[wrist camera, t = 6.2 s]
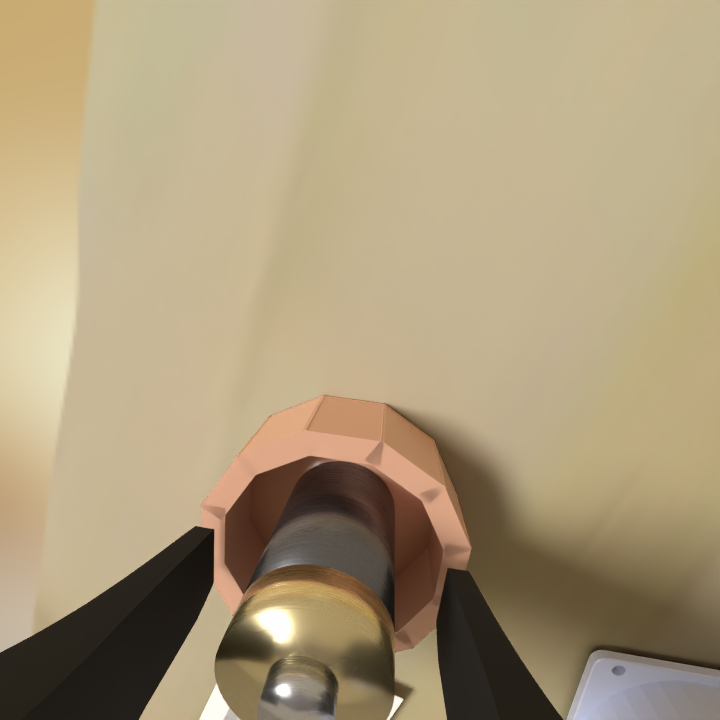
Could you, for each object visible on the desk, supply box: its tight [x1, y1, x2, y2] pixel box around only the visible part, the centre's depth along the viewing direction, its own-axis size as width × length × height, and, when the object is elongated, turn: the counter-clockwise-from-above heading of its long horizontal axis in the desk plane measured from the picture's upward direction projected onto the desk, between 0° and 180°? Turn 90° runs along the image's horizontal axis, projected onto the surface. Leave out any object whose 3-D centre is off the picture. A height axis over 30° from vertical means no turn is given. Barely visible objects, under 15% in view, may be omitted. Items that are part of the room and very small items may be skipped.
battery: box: [215, 461, 395, 720], centre depth 10 cm, size 4×4×7 cm
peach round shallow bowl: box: [201, 395, 472, 652], centre depth 13 cm, size 9×9×3 cm
